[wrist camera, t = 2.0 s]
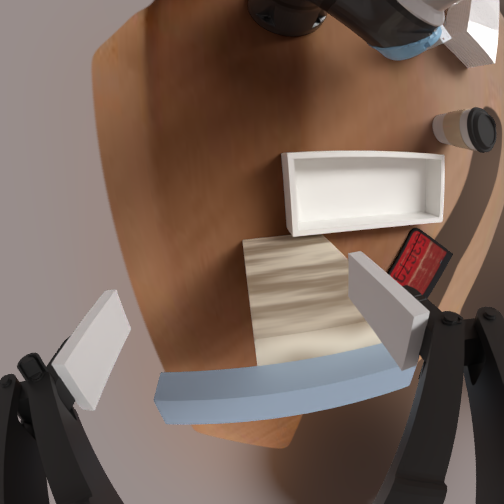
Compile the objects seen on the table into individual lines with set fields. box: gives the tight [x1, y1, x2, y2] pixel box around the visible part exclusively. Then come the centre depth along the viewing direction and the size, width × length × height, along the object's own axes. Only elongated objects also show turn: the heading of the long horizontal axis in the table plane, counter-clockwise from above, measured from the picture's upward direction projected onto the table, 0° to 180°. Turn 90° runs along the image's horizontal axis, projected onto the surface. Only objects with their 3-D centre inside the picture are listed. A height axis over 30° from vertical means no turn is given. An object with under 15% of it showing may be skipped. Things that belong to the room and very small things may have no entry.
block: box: [154, 343, 416, 424], centre depth 25 cm, size 4×26×4 cm, turn 95°
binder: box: [388, 228, 453, 299], centre depth 59 cm, size 16×2×21 cm
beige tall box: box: [242, 234, 382, 366], centre depth 41 cm, size 11×15×30 cm
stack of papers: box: [443, 0, 499, 68], centre depth 31 cm, size 32×11×11 cm, turn 155°
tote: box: [281, 151, 445, 237], centre depth 48 cm, size 14×33×6 cm, turn 95°
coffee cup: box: [432, 107, 496, 153], centre depth 40 cm, size 9×9×15 cm
